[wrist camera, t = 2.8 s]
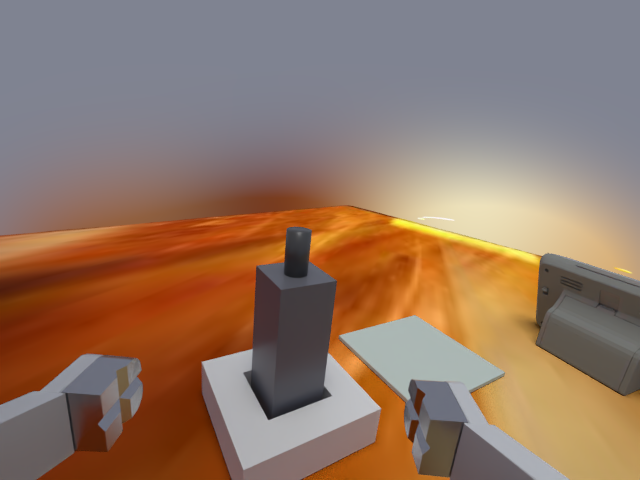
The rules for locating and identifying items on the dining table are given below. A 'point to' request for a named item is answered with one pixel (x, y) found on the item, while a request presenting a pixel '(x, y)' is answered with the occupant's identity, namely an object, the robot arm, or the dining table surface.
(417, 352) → the mat
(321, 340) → the plug
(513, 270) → the dining table surface
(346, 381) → the socket block
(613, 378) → the digital clock
